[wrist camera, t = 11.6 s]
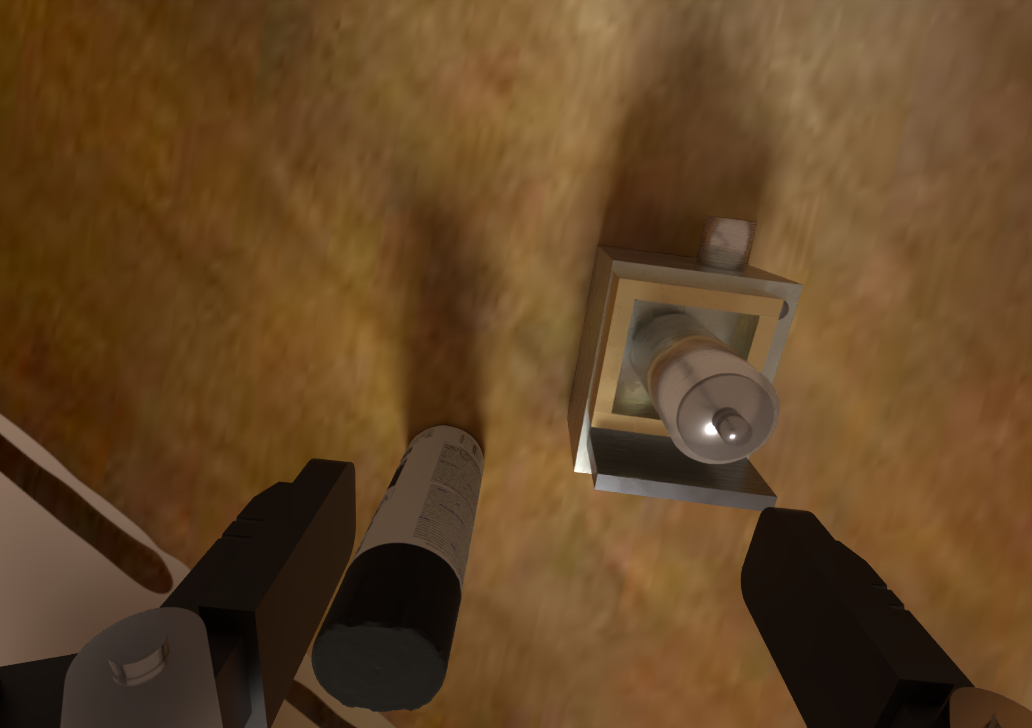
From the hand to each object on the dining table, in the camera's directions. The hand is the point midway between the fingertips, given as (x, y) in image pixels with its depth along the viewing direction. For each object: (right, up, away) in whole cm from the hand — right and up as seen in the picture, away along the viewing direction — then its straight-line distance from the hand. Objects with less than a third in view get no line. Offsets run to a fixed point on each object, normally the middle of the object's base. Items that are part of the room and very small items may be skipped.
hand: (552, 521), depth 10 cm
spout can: (+9, +4, +21) cm, 23 cm away
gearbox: (+10, +6, +28) cm, 31 cm away
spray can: (-7, -5, +33) cm, 34 cm away
